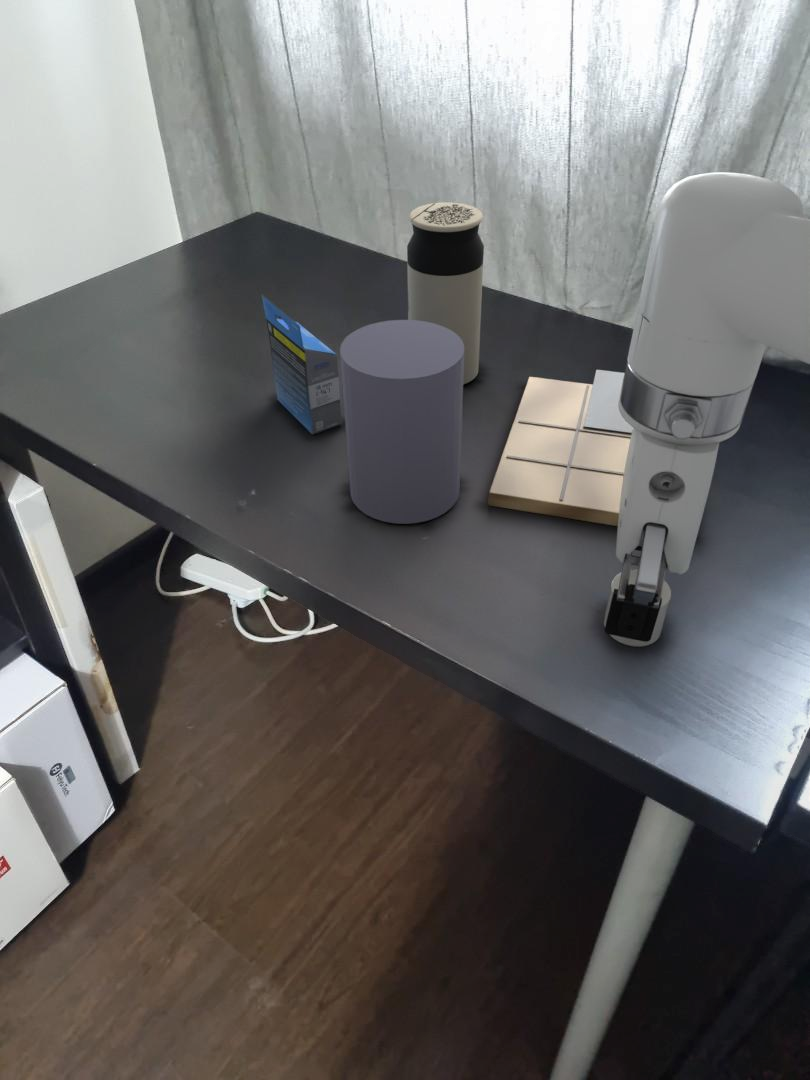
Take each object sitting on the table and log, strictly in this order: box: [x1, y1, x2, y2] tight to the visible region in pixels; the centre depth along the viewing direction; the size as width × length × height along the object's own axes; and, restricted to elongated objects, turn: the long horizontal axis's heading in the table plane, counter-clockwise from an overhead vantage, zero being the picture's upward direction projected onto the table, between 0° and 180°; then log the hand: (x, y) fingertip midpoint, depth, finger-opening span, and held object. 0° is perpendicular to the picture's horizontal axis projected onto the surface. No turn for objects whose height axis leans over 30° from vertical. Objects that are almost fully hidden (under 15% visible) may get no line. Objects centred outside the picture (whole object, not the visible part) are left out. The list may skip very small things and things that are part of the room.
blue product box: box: [261, 294, 343, 435], centre depth 85 cm, size 9×4×12 cm, turn 32°
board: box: [487, 369, 633, 527], centre depth 83 cm, size 18×25×2 cm
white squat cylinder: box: [603, 568, 672, 647], centre depth 63 cm, size 4×4×4 cm
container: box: [339, 319, 464, 525], centre depth 73 cm, size 10×10×15 cm
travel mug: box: [406, 201, 485, 385], centre depth 89 cm, size 8×8×18 cm
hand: (632, 589), depth 62 cm, fingers open, 9 cm apart
